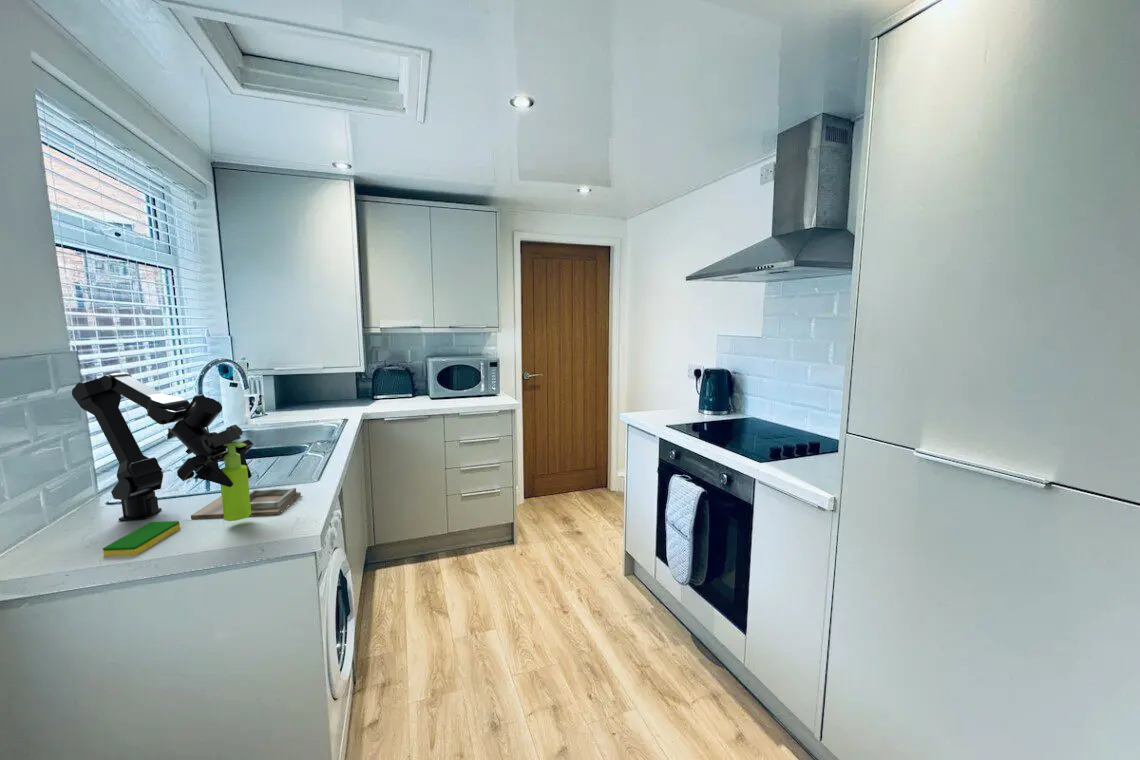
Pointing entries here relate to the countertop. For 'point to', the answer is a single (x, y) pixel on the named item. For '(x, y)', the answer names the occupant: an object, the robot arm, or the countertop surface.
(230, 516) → the soap dispenser
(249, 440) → the robot arm
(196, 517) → the walnut holder board
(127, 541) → the dish sponge
